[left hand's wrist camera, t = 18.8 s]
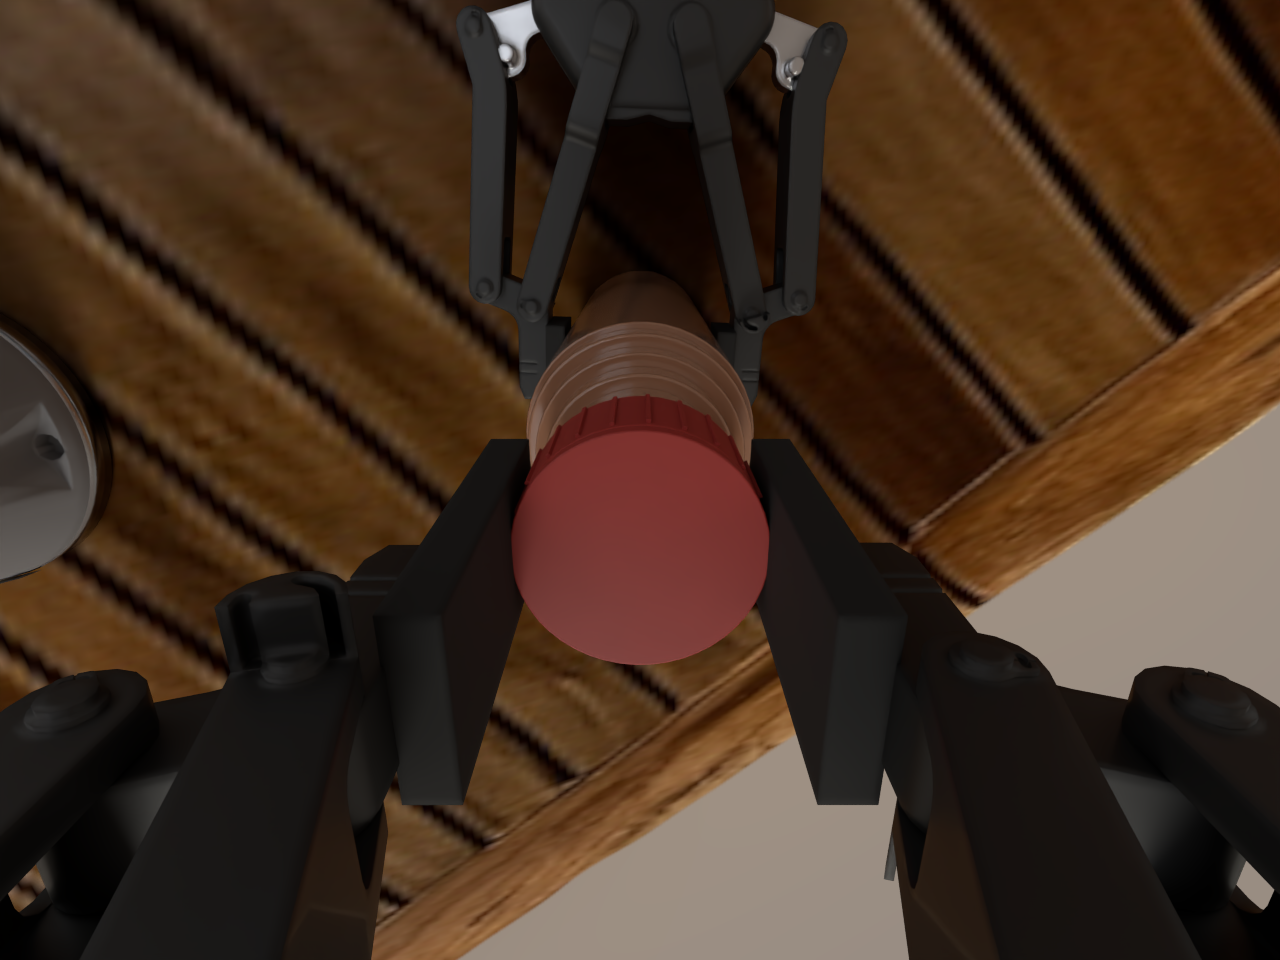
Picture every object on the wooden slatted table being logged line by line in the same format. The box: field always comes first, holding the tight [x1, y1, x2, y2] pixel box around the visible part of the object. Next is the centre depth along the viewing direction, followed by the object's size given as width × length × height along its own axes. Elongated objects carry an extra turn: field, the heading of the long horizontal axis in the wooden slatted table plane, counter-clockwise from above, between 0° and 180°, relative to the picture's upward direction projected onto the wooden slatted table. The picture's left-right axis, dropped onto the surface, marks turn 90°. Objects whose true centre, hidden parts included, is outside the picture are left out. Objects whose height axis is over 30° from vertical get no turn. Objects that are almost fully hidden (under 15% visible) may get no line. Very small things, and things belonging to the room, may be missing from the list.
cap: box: [511, 394, 769, 665], centre depth 13 cm, size 5×5×2 cm
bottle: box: [526, 271, 754, 467], centre depth 24 cm, size 6×6×24 cm
